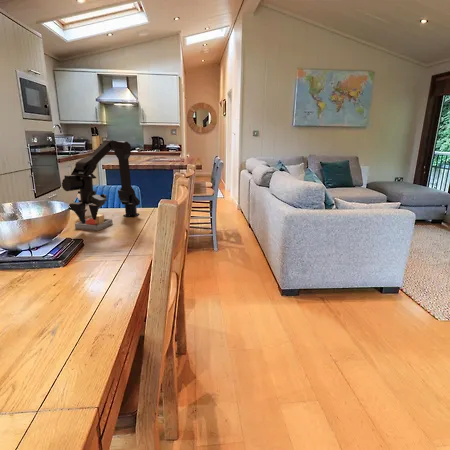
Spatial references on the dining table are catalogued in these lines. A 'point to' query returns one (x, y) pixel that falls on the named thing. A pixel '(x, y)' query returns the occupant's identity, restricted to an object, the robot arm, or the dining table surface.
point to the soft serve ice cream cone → (88, 212)
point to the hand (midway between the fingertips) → (89, 221)
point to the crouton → (99, 219)
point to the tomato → (90, 221)
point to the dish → (93, 227)
